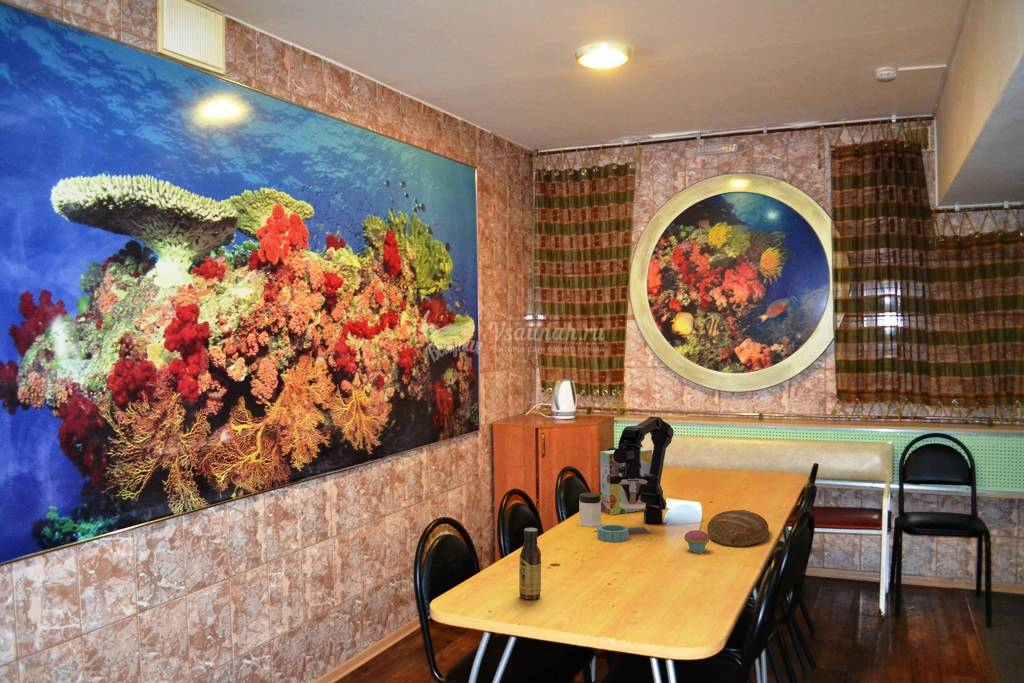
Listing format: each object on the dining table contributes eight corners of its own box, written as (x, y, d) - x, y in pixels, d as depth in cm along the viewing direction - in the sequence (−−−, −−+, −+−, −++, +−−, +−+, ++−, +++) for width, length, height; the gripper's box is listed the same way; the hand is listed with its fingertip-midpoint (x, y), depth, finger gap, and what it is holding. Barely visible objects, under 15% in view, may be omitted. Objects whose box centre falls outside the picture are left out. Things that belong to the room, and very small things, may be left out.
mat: (643, 528, 329) (643, 527, 329) (651, 534, 319) (651, 533, 319) (618, 528, 327) (618, 527, 327) (625, 535, 317) (625, 534, 317)
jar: (587, 528, 327) (587, 497, 327) (574, 524, 334) (574, 494, 334) (605, 525, 332) (605, 495, 332) (592, 521, 339) (592, 491, 339)
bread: (771, 527, 332) (772, 505, 332) (764, 551, 298) (765, 527, 297) (714, 522, 340) (714, 501, 340) (701, 545, 305) (701, 521, 305)
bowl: (623, 534, 318) (623, 524, 318) (631, 542, 307) (631, 531, 307) (594, 535, 317) (594, 525, 316) (601, 543, 305) (601, 532, 305)
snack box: (642, 506, 368) (642, 447, 367) (653, 510, 360) (654, 449, 359) (598, 511, 358) (599, 450, 358) (610, 515, 350) (610, 453, 350)
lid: (641, 503, 327) (641, 490, 327) (649, 509, 317) (649, 495, 317) (616, 504, 326) (616, 490, 326) (622, 509, 316) (622, 495, 316)
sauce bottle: (518, 594, 248) (518, 526, 248) (539, 593, 249) (539, 525, 248) (520, 601, 242) (520, 531, 241) (542, 601, 242) (542, 531, 242)
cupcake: (710, 549, 299) (710, 514, 298) (707, 555, 291) (708, 520, 290) (685, 546, 302) (686, 513, 301) (682, 552, 294) (682, 518, 293)
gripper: (650, 456, 330) (650, 497, 331) (603, 457, 328) (603, 497, 328) (659, 461, 319) (658, 502, 320) (610, 461, 317) (610, 503, 317)
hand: (632, 501), depth 321 cm, fingers closed on lid, 3 cm apart
